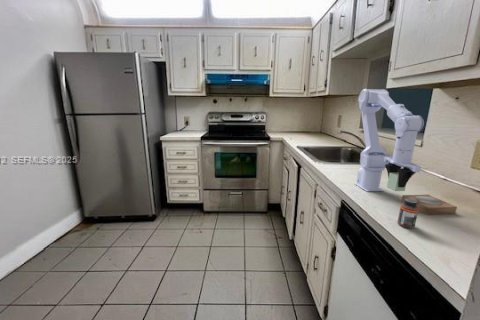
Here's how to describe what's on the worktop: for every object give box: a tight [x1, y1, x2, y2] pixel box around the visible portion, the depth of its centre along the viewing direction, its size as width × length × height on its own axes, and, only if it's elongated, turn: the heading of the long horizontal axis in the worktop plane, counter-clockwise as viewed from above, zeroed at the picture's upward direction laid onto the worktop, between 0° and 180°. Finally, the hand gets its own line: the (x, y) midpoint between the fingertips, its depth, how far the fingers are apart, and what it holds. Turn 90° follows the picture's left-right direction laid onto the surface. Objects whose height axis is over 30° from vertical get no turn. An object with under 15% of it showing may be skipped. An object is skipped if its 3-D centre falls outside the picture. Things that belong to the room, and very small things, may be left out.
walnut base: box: [401, 194, 458, 216], centre depth 84 cm, size 11×11×3 cm
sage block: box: [386, 172, 407, 192], centre depth 85 cm, size 4×4×6 cm
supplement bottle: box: [397, 199, 419, 229], centre depth 70 cm, size 4×4×8 cm
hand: (396, 184), depth 86 cm, fingers closed on sage block, 4 cm apart
